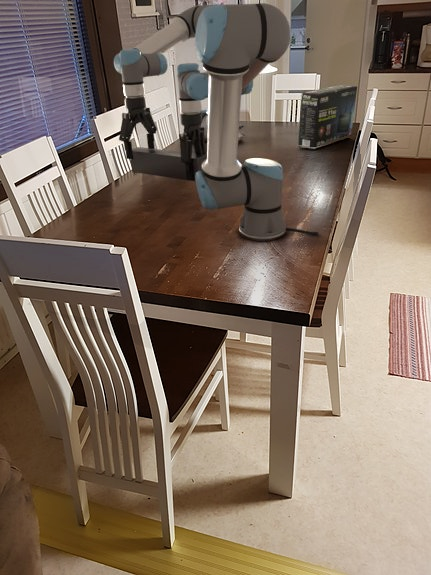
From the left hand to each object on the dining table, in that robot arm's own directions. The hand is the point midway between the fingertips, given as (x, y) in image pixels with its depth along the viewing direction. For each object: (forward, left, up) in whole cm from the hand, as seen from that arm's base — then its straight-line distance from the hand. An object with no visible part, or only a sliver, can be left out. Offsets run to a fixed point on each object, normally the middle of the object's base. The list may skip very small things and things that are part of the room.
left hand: (141, 154), depth 180 cm
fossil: (-87, 0, -15) cm, 89 cm away
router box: (-98, +52, -15) cm, 112 cm away
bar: (+1, +12, -7) cm, 14 cm away
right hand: (+2, +24, -6) cm, 25 cm away
